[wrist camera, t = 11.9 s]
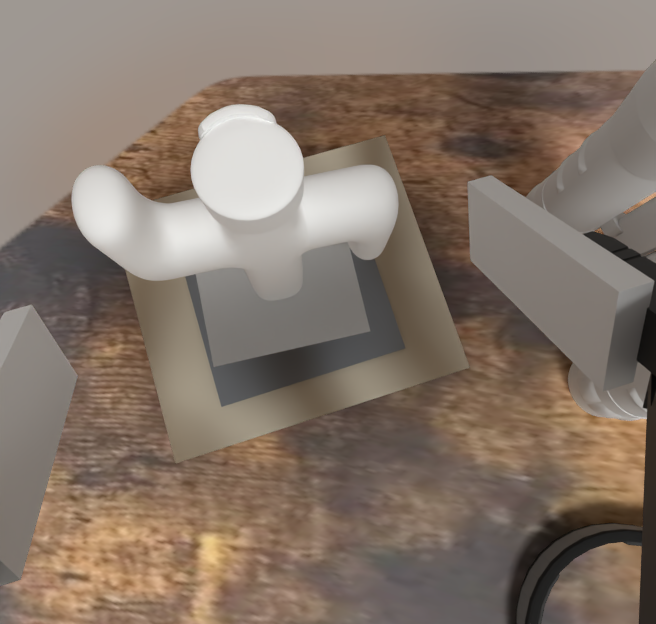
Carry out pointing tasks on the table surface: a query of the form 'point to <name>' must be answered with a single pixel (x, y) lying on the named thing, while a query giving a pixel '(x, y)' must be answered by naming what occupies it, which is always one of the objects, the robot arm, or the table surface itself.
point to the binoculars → (611, 215)
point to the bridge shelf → (309, 361)
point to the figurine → (250, 235)
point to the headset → (566, 563)
